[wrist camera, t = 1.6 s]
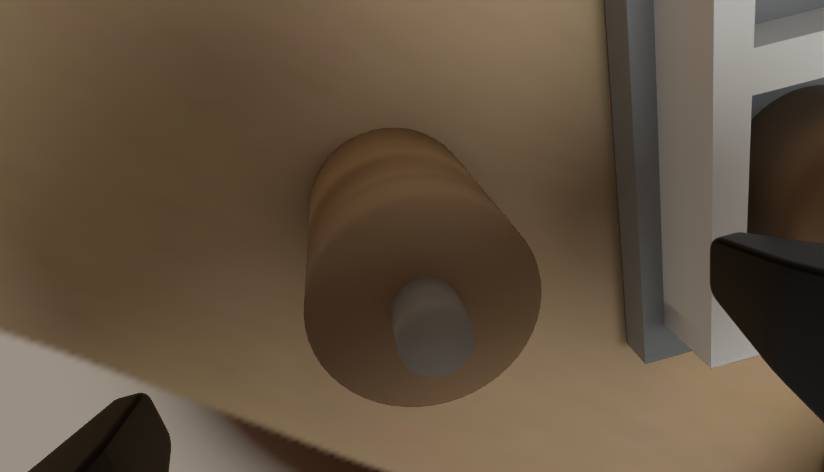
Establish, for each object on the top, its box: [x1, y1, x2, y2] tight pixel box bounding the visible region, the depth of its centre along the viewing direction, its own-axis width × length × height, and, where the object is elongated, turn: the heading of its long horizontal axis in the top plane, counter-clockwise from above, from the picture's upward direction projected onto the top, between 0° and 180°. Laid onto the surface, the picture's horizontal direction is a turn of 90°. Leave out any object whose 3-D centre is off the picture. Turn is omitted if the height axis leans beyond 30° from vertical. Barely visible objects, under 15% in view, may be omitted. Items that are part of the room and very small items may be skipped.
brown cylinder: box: [304, 128, 541, 407], centre depth 11 cm, size 4×4×6 cm
